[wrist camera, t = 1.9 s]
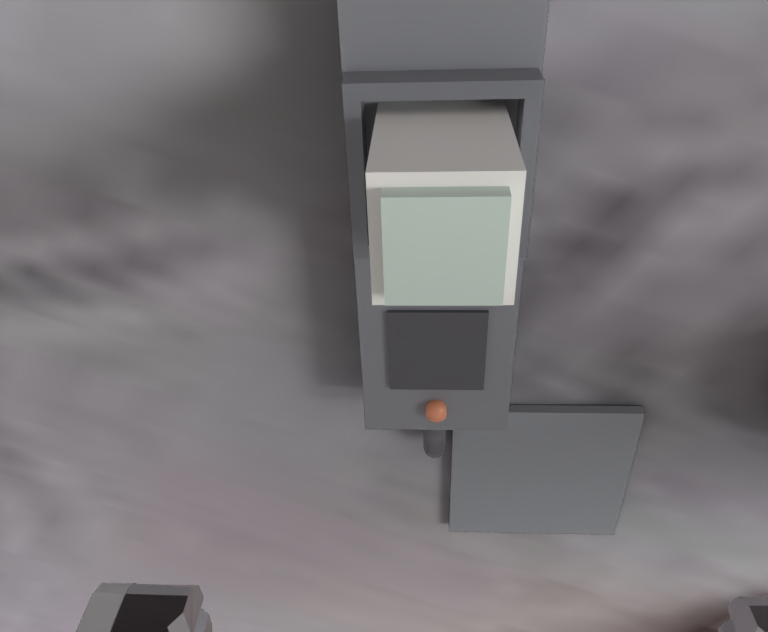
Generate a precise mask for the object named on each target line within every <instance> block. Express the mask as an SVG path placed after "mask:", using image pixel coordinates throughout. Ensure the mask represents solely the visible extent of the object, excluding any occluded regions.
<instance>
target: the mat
mask: <svg viewBox="0 0 768 632" xmlns="http://www.w3.org/2000/svg"><path fill="white" fill-rule="evenodd" d="M644 417H645V412H644V409H643V407H642V406H590V405H509V415H508V425H507V431H481V430H452V456H451V484H450V513H449V532H494V533H542V534H591V535H614V534H615V530H616V526H617V522H618V518H619V514H620V510H621V506H622V503H623V499H624V495H625V491H626V487H627V483H628V479H629V475H630V471H631V467H632V464H633V460H634V456H635V452H636V448H637V444H638V440H639V436H640V432H641V428H642V425H643V421H644Z"/></svg>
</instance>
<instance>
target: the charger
mask: <svg viewBox="0 0 768 632" xmlns="http://www.w3.org/2000/svg"><path fill="white" fill-rule="evenodd" d="M526 172H527V171H526V167H525V164H524V161H523V158H522V155H521V152H520V148H519V145H518V142H517V139H516V136H515V133H514V130H513V126H512V123H511V120H510V117H509V114H508V111H507V107H506V104H505V101H504V100H491V101H433V102H378V107H377V112H376V117H375V123H374V128H373V134H372V139H371V145H370V150H369V156H368V161H367V166H366V172H365V175H366V195H367V214H368V234H369V253H370V273H371V292H372V305H385V306H503V305H514V300H515V289H516V278H517V268H518V257H519V246H520V236H521V225H522V214H523V204H524V193H525V182H526Z"/></svg>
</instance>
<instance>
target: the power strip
mask: <svg viewBox="0 0 768 632" xmlns="http://www.w3.org/2000/svg"><path fill="white" fill-rule="evenodd" d="M549 1H550V0H337V9H338V24H339V39H340V54H341V69H342V98H343V113H344V127H345V142H346V157H347V172H348V187H349V202H350V217H351V231H352V246H353V259H354V265H355V280H356V295H357V310H358V325H359V340H360V355H361V370H362V385H363V400H364V415H365V429H395V430H424V451H425V453H426V454H427V455H428V456H430V457H433V458H437V457H440V456H441V455H442V454H443V453H444V452H445V449H446V430H481V431H507V425H508V415H509V405H510V394H511V384H512V374H513V364H514V354H515V344H516V334H517V324H518V314H519V304H520V294H521V283H522V273H523V263H524V258H527V251H528V241H529V231H530V221H531V211H532V201H533V192H534V182H535V172H536V162H537V152H538V143H539V133H540V123H541V113H542V103H543V93H544V84H545V79H544V77H543V75H542V72H543V61H544V51H545V41H546V31H547V21H548V11H549ZM491 100H504V101H505V104H506V107H507V111H508V114H509V117H510V120H511V123H512V126H513V130H514V133H515V136H516V139H517V142H518V145H519V148H520V152H521V155H522V158H523V161H524V164H525V167H526V171H527V172H526V182H525V193H524V204H523V214H522V225H521V236H520V246H519V257H518V268H517V278H516V289H515V300H514V305H503V306H385V305H372V292H371V273H370V253H369V234H368V214H367V195H366V175H365V172H366V166H367V161H368V156H369V150H370V145H371V139H372V134H373V128H374V123H375V117H376V112H377V107H378V102H433V101H491Z"/></svg>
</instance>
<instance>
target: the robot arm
mask: <svg viewBox="0 0 768 632" xmlns="http://www.w3.org/2000/svg"><path fill="white" fill-rule="evenodd" d="M203 598H204V597H203V595H202V592H201V589H200V587H199V585H158V584H136V583H101V584H100V585H99V587H98V588H97V589H96V590H95V592H94V593H93V594H92V596H91V598H90V601H89V603H88V605H87V607H86V610H85V612H84V614H83V616H82V619H81V621H80V623H79V625H78V628H77V630H76V632H212V623H211V620H210V616H209V614H208V613H207V612H205V611H204V610H202V609H201V605H202V602H203ZM728 611H729V614H730V616H731V619H732V620H730V621H728V622H727V623H725V624H723V625H721V626H720V628H719V631H718V632H768V597H737V598H735V599H733V600H732V602H731V604H730V606H729V608H728Z"/></svg>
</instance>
